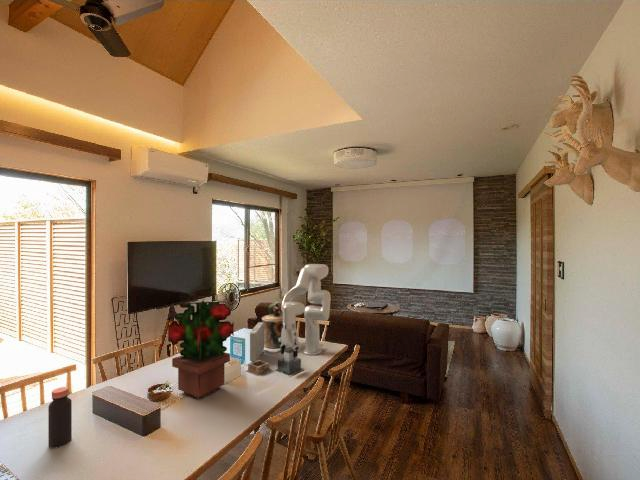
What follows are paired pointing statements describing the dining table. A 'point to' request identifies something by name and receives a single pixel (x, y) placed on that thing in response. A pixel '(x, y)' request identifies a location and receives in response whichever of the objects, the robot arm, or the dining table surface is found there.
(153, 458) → the dining table surface
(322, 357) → the dining table surface
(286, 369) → the port block
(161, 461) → the dining table surface
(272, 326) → the cookie jar
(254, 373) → the brown square ashtray
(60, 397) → the bottle
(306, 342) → the robot arm
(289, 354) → the plug
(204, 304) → the potted plant
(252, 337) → the network device
